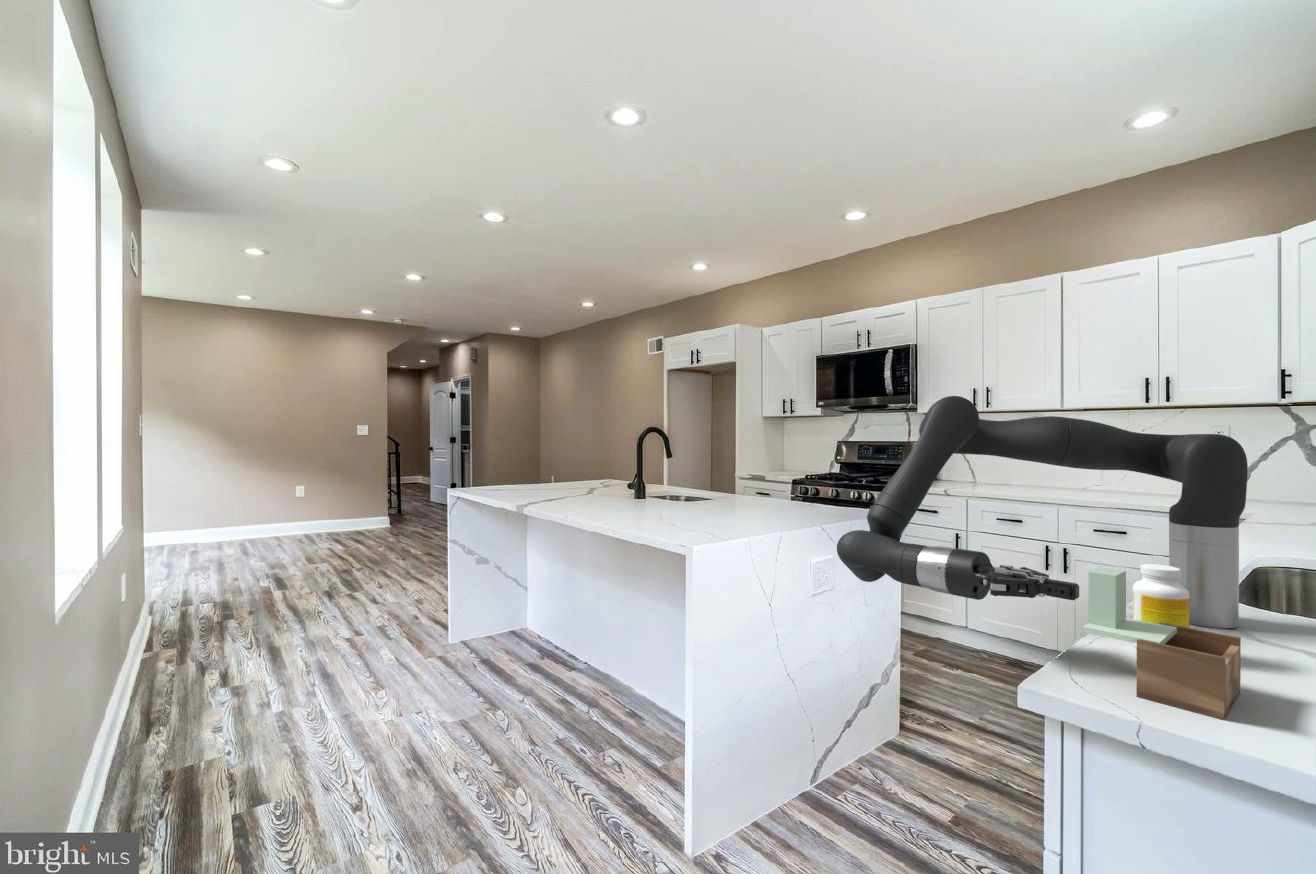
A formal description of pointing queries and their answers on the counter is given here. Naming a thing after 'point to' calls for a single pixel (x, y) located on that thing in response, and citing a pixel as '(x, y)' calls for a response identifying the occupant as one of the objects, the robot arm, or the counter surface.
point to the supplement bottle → (1160, 596)
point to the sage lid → (1118, 611)
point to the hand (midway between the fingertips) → (1077, 592)
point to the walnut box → (1191, 671)
